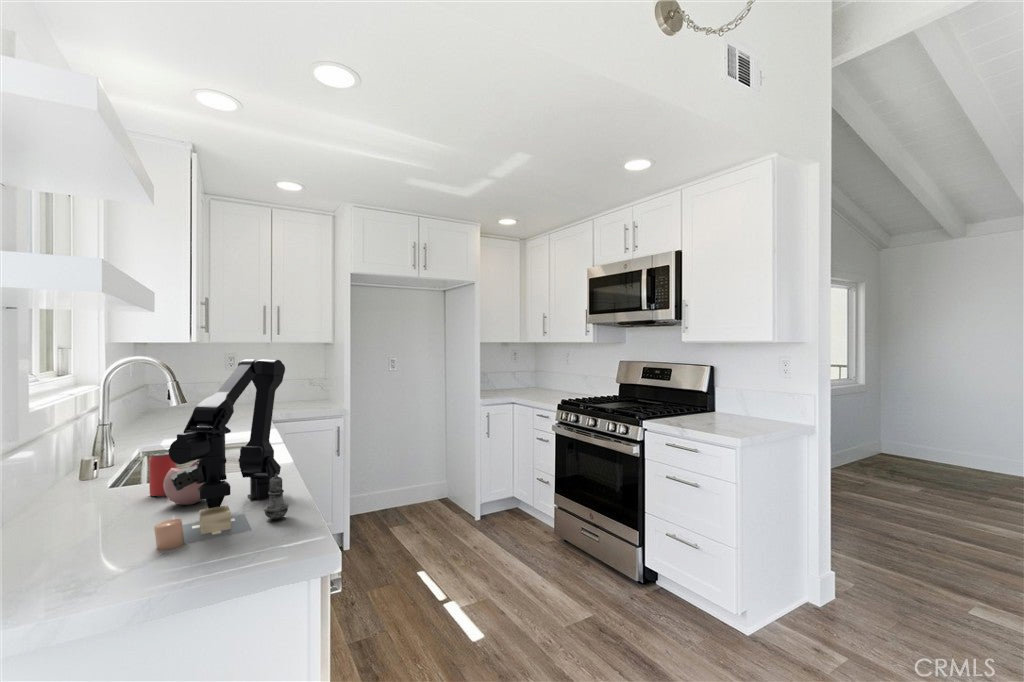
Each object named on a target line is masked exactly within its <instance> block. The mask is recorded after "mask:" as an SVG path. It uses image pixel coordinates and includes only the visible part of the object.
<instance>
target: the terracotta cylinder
mask: <svg viewBox="0 0 1024 682" xmlns="http://www.w3.org/2000/svg"><path fill="white" fill-rule="evenodd" d="M182 525H183V521H182V519H181V518H173V519H169V520H165V521H164V520H163V521H162V522H160V523H157V524H155V525H154V528H153V531H154V536H155V543H156V544H155V546H156V549H157V550H159V551H169V550H174V549H177V548H180V547H182V546H183V545H185V544H184V535H183V527H182Z"/></svg>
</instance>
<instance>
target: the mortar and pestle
mask: <svg viewBox="0 0 1024 682" xmlns="http://www.w3.org/2000/svg"><path fill="white" fill-rule="evenodd" d="M195 465H197V460H194V461H193V462H192V463H191V464H190V466H189V467H192V466H195ZM182 470H183V469H180V468H178V467H177V468H171V469H170V470H169V472H168V473H167V475H166V477H165V479H164V484H163V487H164V492H165V494H166V496H165V497H167V498H168V500H170V501H172V503H175V504H176V505H177V504H178V505H182V506H189V505H194V504H197V503H199V502H201V501H203V500H204V499H200V497H199V493H198V488H199V487H200V486H201V485H202V483H201V484H196V482H195V483H193V484H190V485H188V486H186V487H184V488H183V489H181V490H179V491H176V489H175V487H174V485H173V483H172V481H171V476H172V475H173V474H176V473H178V472H180V471H182Z"/></svg>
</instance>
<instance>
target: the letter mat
mask: <svg viewBox="0 0 1024 682" xmlns="http://www.w3.org/2000/svg"><path fill="white" fill-rule="evenodd" d="M182 527H183V535H184V544H183V545H187V544H192V543H197V542H202V541H206V540H207V541H208V540H211V539H217V538H222V537H227V536H232V535H238V534H243V533H246V532H251V531H253V529H252V527H251V525H250V523H249V520H248V518H247V516H246V514H245V513H241V514H240V513H239V514H235V515H231V529H228V530H223V531H218V532H212V533H207V534H202V535H201V531H200V521H196V522H190V523H185V524H182Z"/></svg>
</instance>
